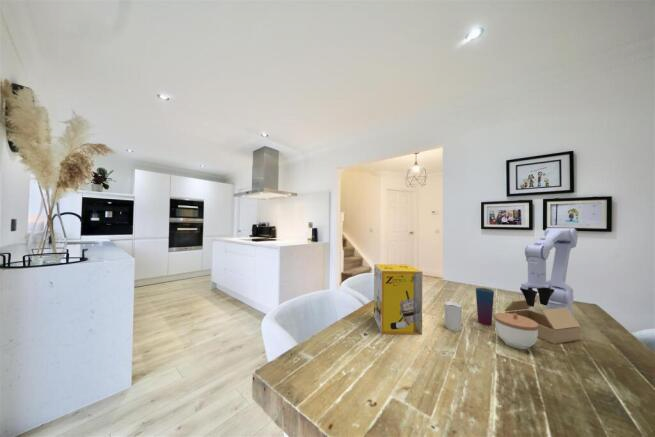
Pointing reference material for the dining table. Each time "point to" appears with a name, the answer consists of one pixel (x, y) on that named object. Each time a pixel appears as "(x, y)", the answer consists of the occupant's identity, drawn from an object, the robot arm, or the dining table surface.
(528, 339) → the lidded bowl
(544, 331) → the carton
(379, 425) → the dining table surface
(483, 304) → the cup
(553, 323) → the flap
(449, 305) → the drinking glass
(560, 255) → the robot arm
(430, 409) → the dining table surface
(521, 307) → the flap
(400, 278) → the packaging box
